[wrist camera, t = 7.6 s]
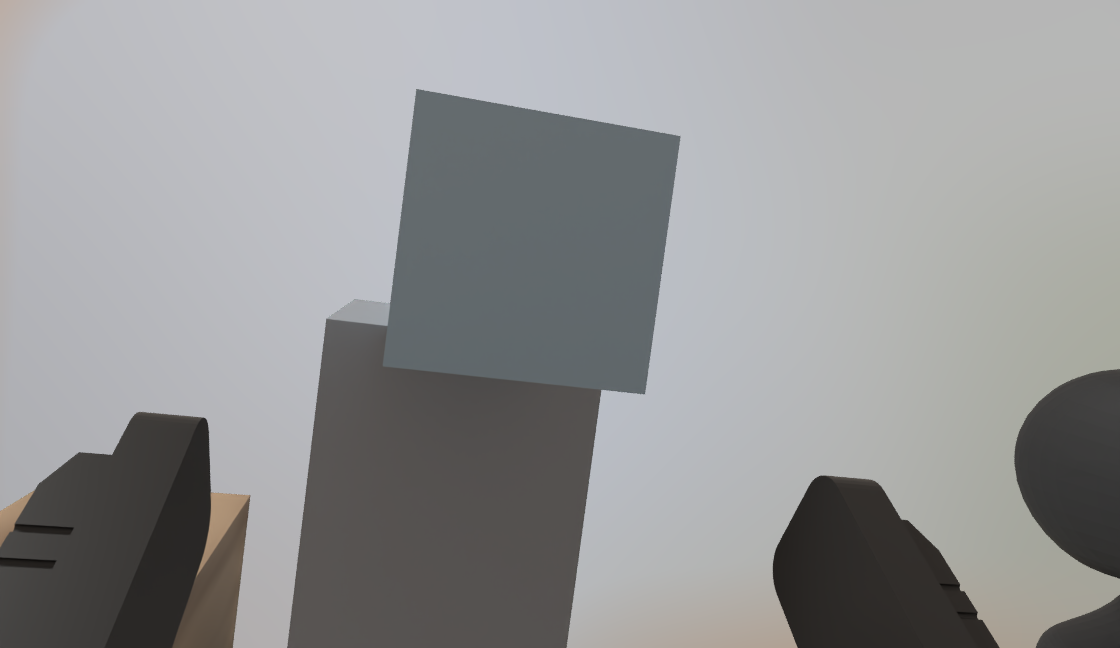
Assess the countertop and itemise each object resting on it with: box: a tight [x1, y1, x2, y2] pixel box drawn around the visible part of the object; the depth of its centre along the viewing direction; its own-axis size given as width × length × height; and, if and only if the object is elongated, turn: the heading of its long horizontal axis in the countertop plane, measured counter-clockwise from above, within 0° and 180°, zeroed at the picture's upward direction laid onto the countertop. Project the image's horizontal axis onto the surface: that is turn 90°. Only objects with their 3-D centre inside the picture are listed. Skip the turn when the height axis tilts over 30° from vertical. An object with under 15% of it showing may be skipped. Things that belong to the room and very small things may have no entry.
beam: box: [383, 89, 680, 394], centre depth 23 cm, size 4×22×4 cm, turn 12°
